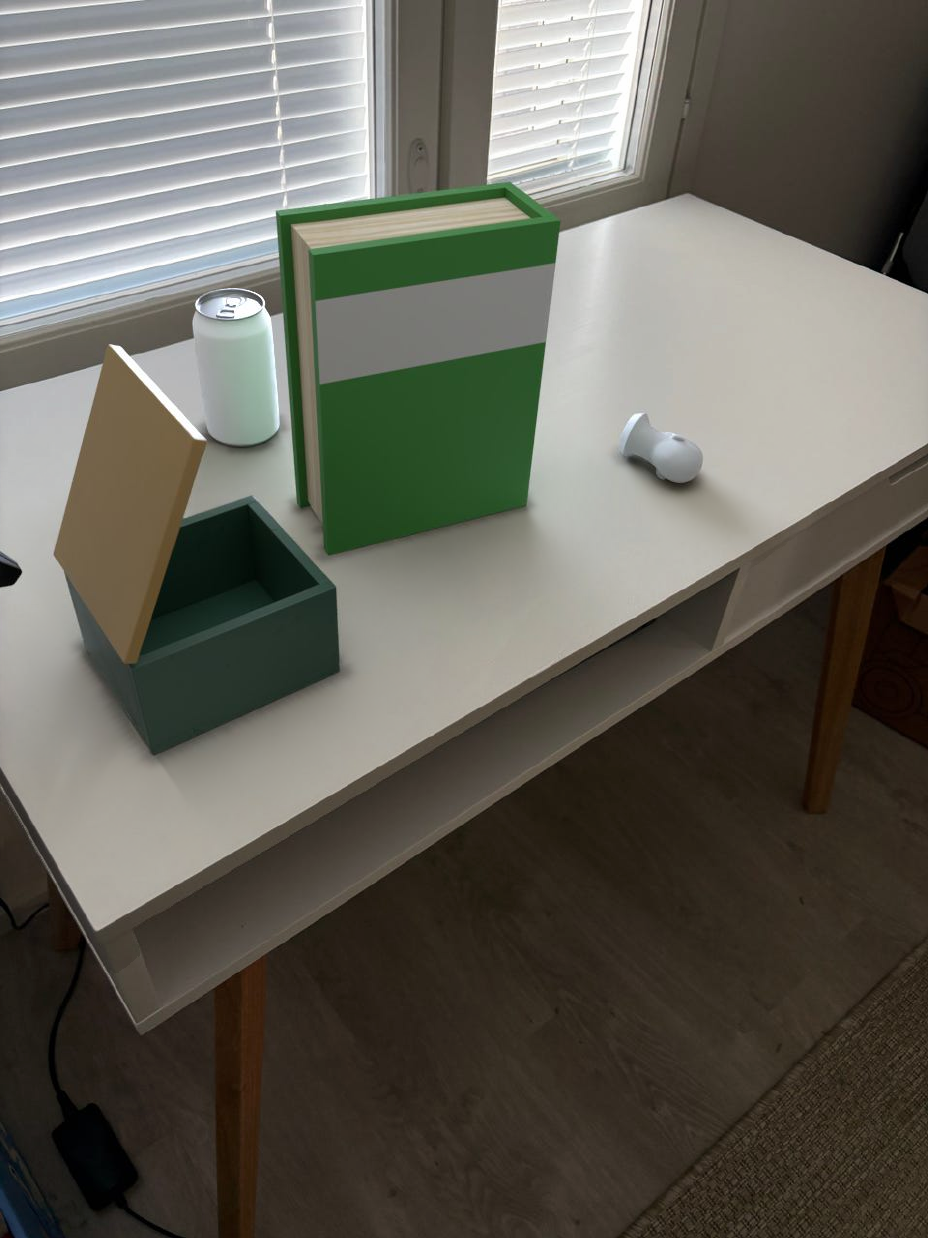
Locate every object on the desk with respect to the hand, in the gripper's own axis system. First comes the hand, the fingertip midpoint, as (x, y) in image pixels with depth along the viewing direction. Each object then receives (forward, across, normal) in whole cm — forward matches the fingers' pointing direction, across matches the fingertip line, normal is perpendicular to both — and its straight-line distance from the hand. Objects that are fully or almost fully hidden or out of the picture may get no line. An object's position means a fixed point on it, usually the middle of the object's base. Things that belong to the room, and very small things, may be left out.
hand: (16, 574), depth 57 cm
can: (+27, +25, -9) cm, 38 cm away
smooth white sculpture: (+47, +1, -29) cm, 55 cm away
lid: (+3, 0, -6) cm, 7 cm away
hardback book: (+32, +8, -14) cm, 35 cm away
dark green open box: (+16, 0, +2) cm, 16 cm away
